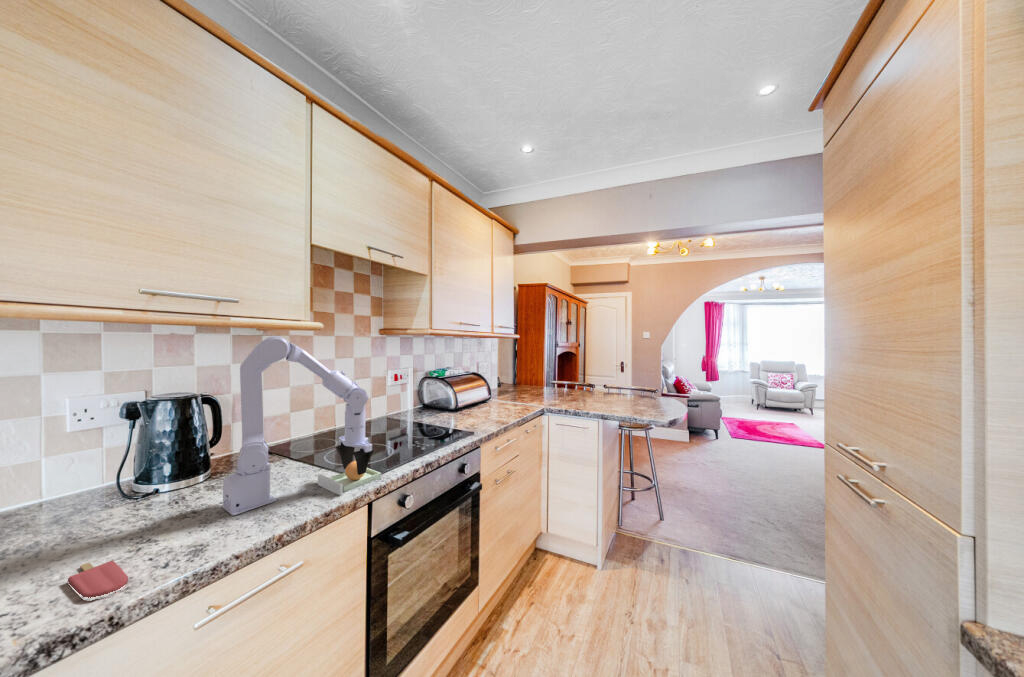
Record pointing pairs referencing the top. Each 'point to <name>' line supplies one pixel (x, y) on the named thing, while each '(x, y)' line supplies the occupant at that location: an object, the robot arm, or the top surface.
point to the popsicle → (98, 579)
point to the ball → (352, 471)
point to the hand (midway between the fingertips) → (354, 470)
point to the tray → (351, 484)
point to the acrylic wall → (330, 484)
